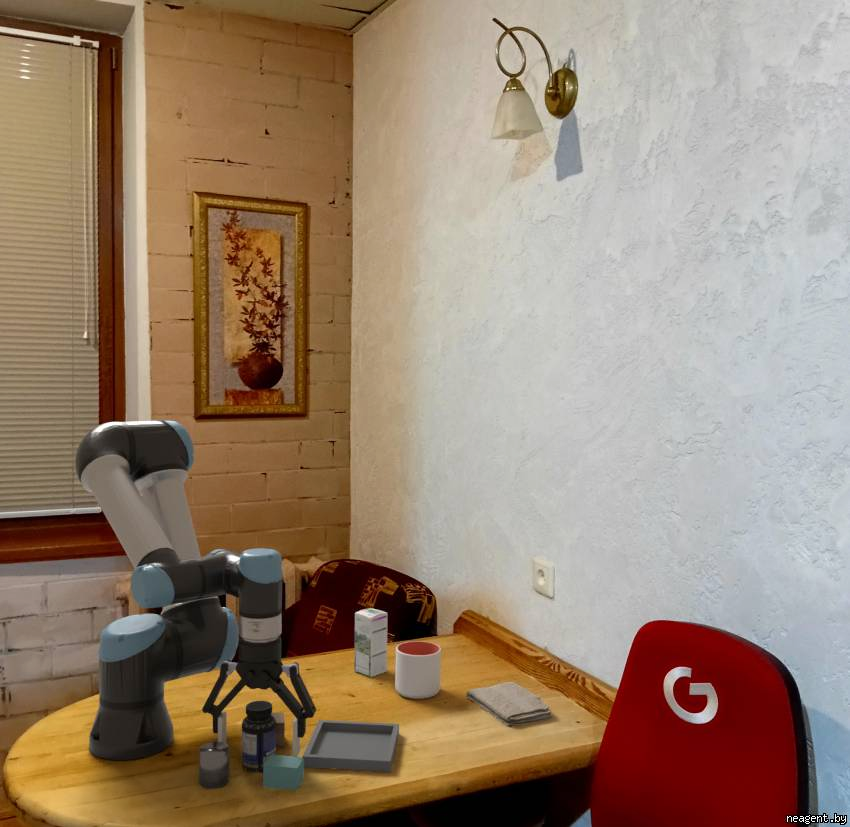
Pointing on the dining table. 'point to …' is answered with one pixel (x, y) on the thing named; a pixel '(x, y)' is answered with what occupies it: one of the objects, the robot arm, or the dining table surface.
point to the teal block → (283, 772)
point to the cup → (417, 669)
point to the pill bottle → (258, 735)
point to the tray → (352, 745)
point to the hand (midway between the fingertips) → (259, 752)
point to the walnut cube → (279, 729)
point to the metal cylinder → (214, 765)
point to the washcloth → (510, 703)
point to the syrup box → (370, 642)
